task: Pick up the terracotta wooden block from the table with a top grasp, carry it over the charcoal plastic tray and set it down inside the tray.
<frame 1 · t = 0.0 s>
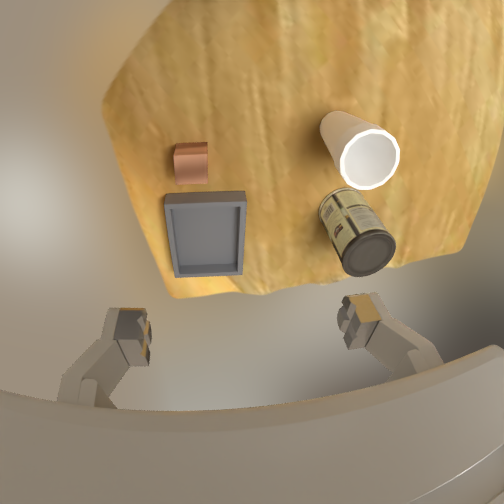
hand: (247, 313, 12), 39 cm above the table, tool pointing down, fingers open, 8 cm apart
coffee can: (342, 208, 58), on the table
block: (192, 156, 47), on the table
tray: (206, 231, 58), on the table
foam cup: (336, 127, 46), on the table
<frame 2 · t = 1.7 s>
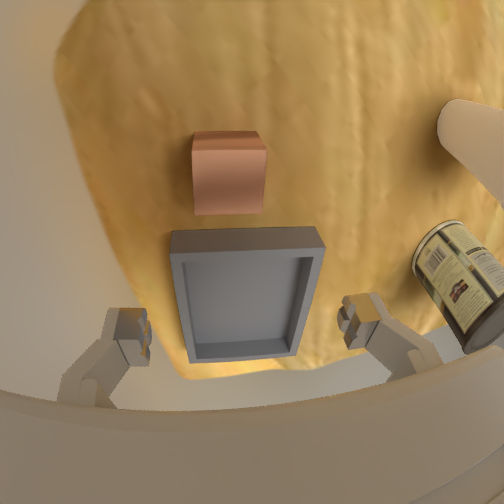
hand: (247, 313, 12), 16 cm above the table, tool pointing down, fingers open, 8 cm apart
coffee can: (440, 249, 35), on the table
block: (225, 159, 24), on the table
tray: (242, 294, 34), on the table
foam cup: (455, 125, 24), on the table
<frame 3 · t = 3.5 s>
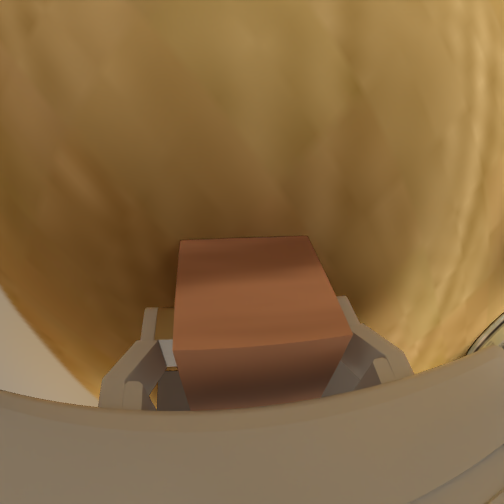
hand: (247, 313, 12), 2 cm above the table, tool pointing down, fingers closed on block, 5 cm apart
coffee can: (497, 331, 24), on the table
block: (243, 285, 13), on the table, touching gripper
tray: (261, 416, 23), on the table
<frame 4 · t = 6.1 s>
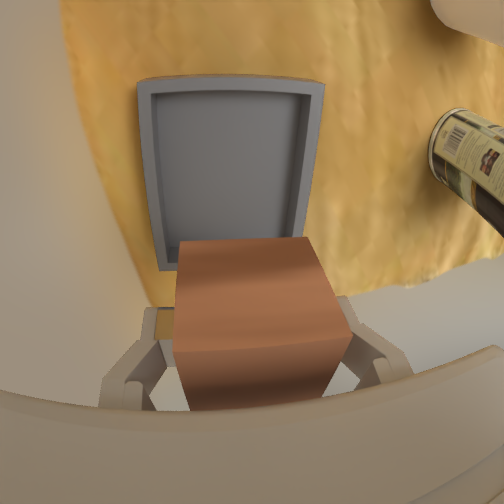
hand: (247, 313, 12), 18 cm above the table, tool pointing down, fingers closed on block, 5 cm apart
coffee can: (456, 145, 28), on the table
block: (243, 286, 13), point 17 cm above the table, touching gripper
tray: (227, 169, 27), on the table
foam cup: (449, 4, 16), on the table
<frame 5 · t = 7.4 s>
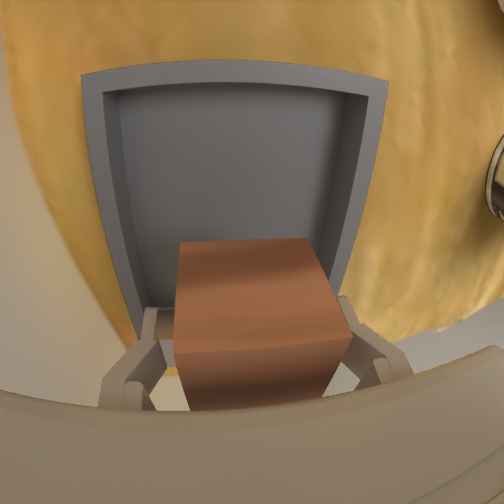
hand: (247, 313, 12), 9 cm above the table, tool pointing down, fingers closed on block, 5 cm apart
block: (243, 286, 13), point 7 cm above the table, touching gripper
tray: (230, 207, 19), on the table
when the fingers open (5 cm above the table, at t = 8.6 s): block drops 2 cm, resting on tray.
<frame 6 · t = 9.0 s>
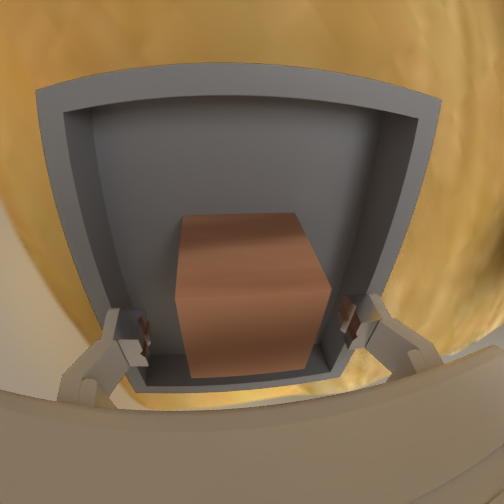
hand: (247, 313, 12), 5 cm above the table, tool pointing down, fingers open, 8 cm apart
block: (238, 258, 15), point 1 cm above the table, touching tray
tray: (236, 246, 15), on the table
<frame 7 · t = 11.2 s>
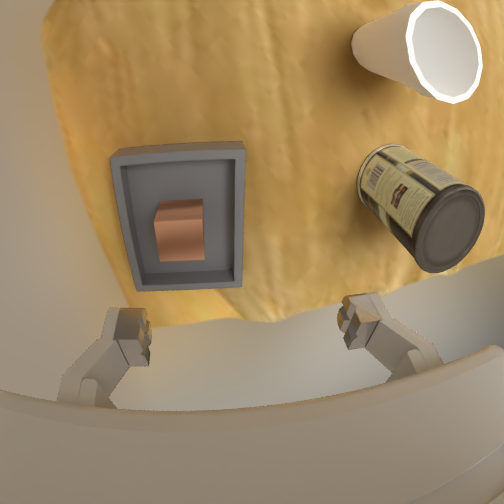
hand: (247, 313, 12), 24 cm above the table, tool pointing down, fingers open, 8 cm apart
coffee can: (388, 178, 37), on the table
block: (182, 218, 35), point 1 cm above the table, touching tray
tray: (183, 215, 36), on the table
foam cup: (374, 48, 26), on the table
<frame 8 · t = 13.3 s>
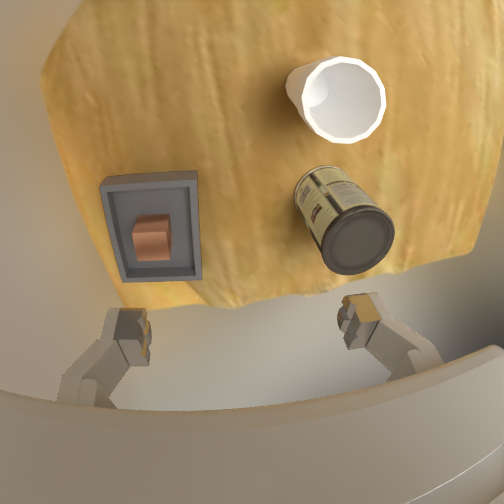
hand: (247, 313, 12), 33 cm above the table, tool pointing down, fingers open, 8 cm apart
coffee can: (324, 193, 47), on the table
block: (155, 228, 45), point 1 cm above the table, touching tray
tray: (156, 224, 46), on the table
foam cup: (307, 86, 36), on the table
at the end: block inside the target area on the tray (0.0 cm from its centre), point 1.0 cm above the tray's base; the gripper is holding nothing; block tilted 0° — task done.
